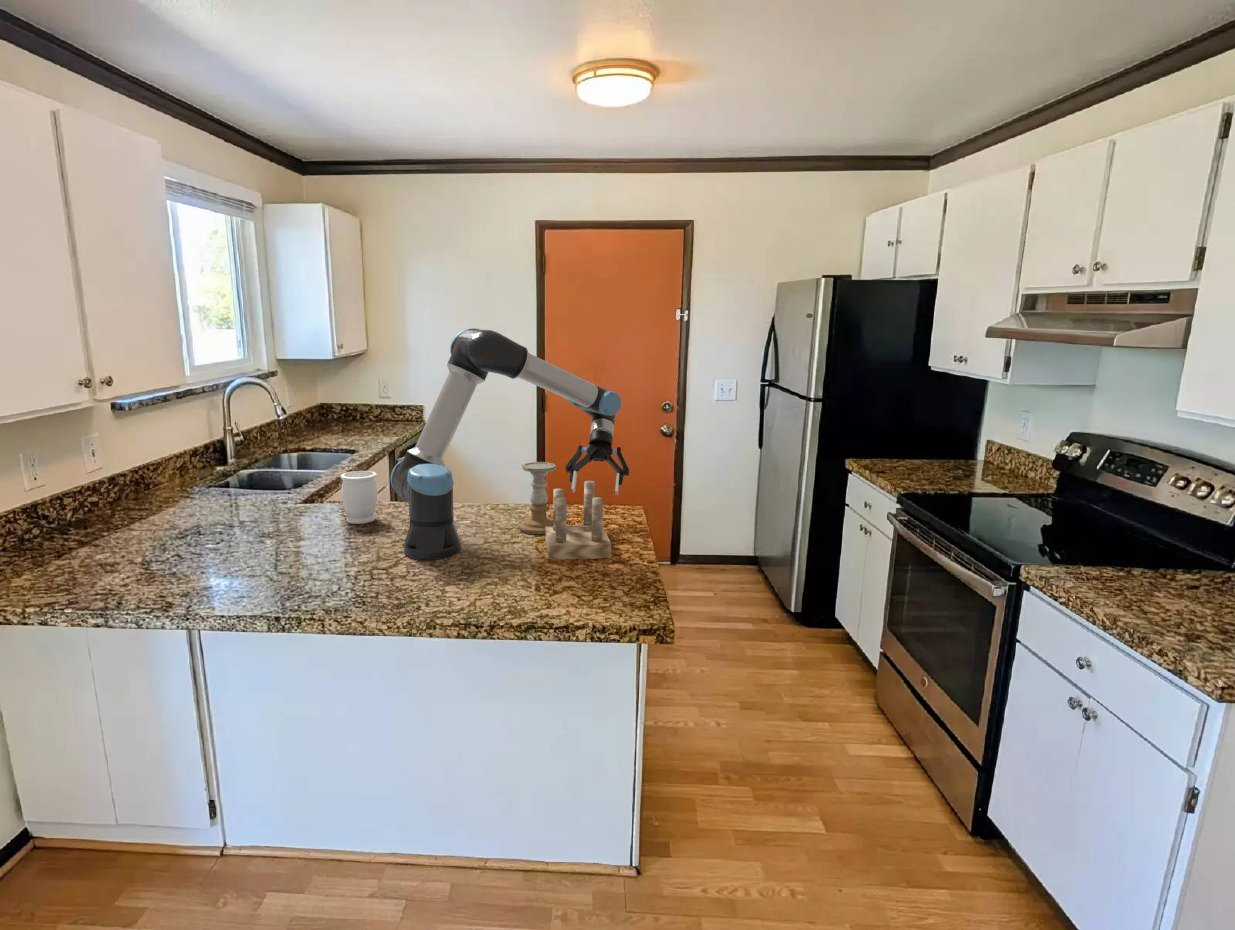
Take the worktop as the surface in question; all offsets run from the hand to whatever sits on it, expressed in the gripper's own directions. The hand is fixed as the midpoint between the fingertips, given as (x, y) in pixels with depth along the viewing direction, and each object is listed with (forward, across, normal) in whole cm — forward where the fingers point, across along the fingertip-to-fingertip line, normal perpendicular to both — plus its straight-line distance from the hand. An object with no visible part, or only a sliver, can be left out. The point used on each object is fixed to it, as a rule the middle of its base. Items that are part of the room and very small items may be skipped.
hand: (594, 492), depth 205 cm
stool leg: (+12, +1, -5) cm, 13 cm away
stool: (+22, +2, +6) cm, 23 cm away
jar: (+12, +73, -4) cm, 74 cm away
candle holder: (+11, +17, -6) cm, 21 cm away
